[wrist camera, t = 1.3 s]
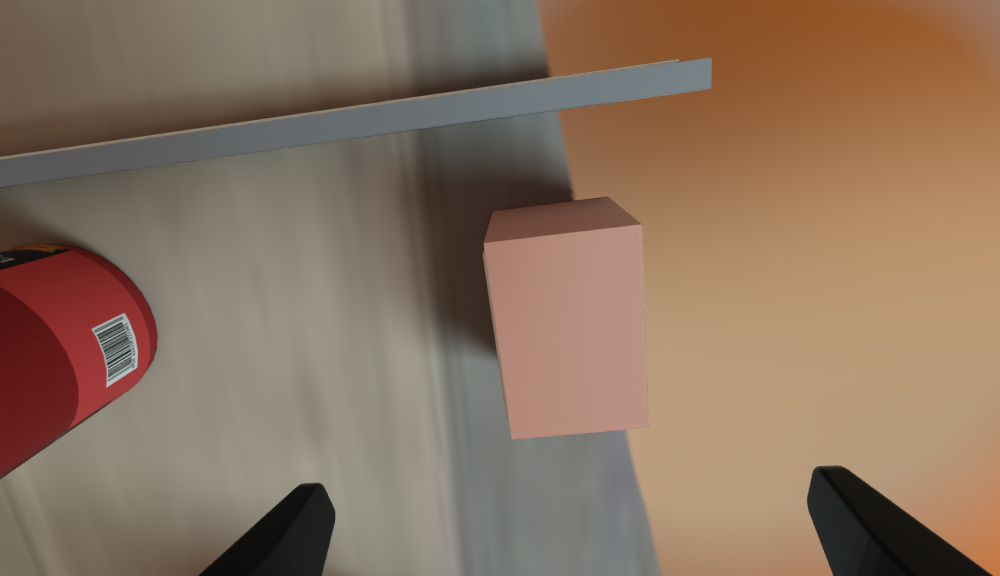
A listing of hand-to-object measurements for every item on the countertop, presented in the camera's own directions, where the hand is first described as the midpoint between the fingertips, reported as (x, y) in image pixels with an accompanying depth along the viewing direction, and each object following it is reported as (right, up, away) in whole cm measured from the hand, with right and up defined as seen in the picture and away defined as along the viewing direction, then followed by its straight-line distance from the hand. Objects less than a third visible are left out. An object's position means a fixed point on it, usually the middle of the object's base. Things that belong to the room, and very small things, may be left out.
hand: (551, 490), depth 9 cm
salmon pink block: (+2, +4, +13) cm, 14 cm away
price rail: (-9, +10, +11) cm, 18 cm away
